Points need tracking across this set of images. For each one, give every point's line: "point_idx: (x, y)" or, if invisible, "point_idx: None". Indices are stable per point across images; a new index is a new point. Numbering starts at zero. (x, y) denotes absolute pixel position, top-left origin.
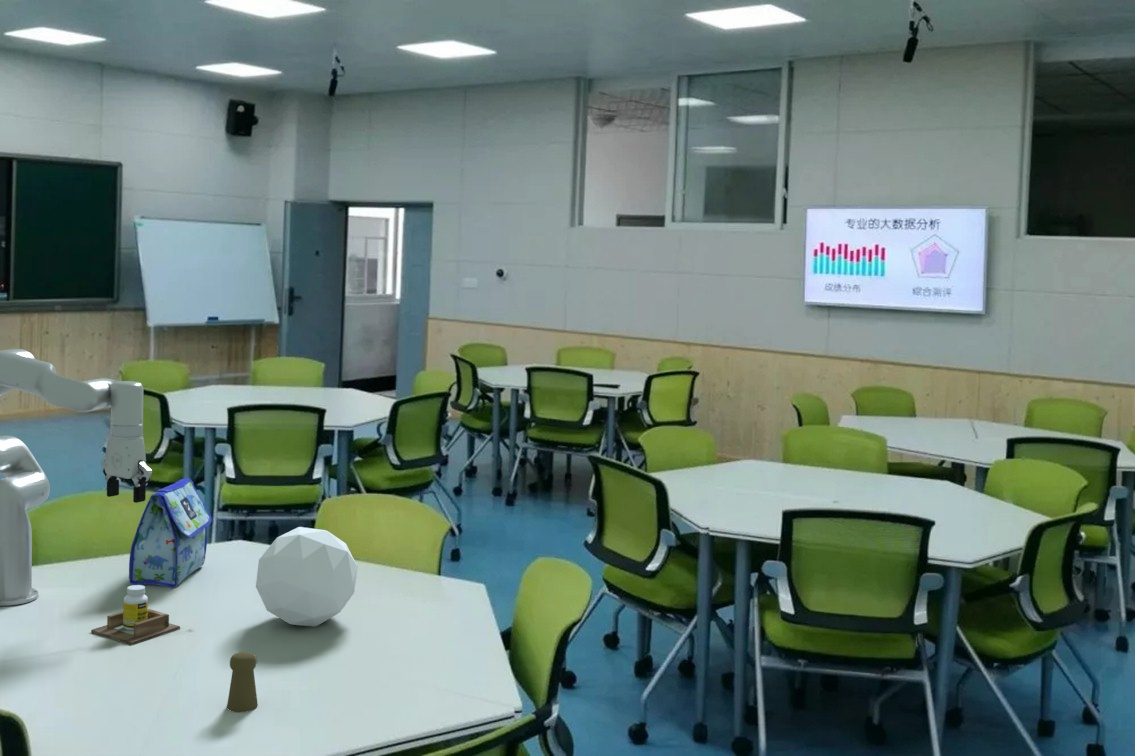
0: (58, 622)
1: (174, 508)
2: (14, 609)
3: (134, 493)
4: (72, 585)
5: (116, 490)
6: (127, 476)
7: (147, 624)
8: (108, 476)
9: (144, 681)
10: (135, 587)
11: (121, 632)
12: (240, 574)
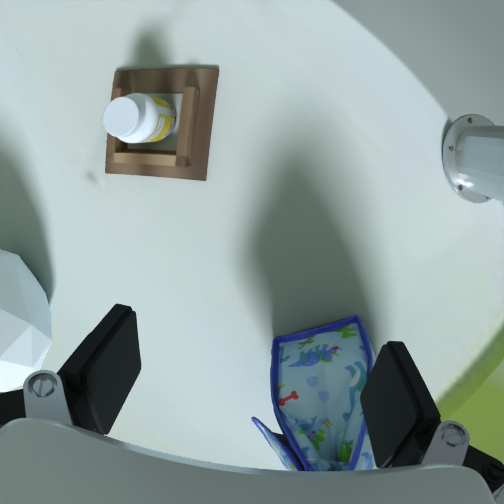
0: (317, 80)
1: (290, 468)
2: (435, 110)
3: (90, 336)
4: (439, 264)
5: (371, 406)
6: (38, 432)
7: None
8: (442, 454)
9: (36, 20)
10: (120, 114)
11: (161, 90)
12: (236, 415)
